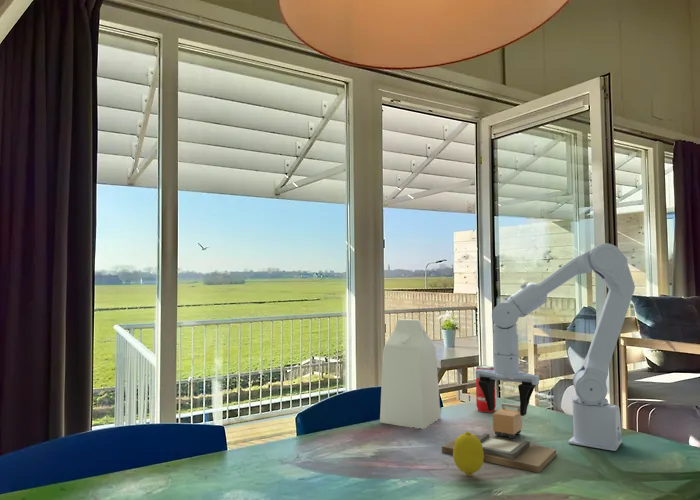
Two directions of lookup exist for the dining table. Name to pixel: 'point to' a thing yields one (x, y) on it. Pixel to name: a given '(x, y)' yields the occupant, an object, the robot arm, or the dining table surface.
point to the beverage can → (480, 396)
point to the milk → (409, 377)
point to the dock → (511, 453)
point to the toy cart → (507, 420)
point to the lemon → (468, 453)
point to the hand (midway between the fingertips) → (507, 412)
